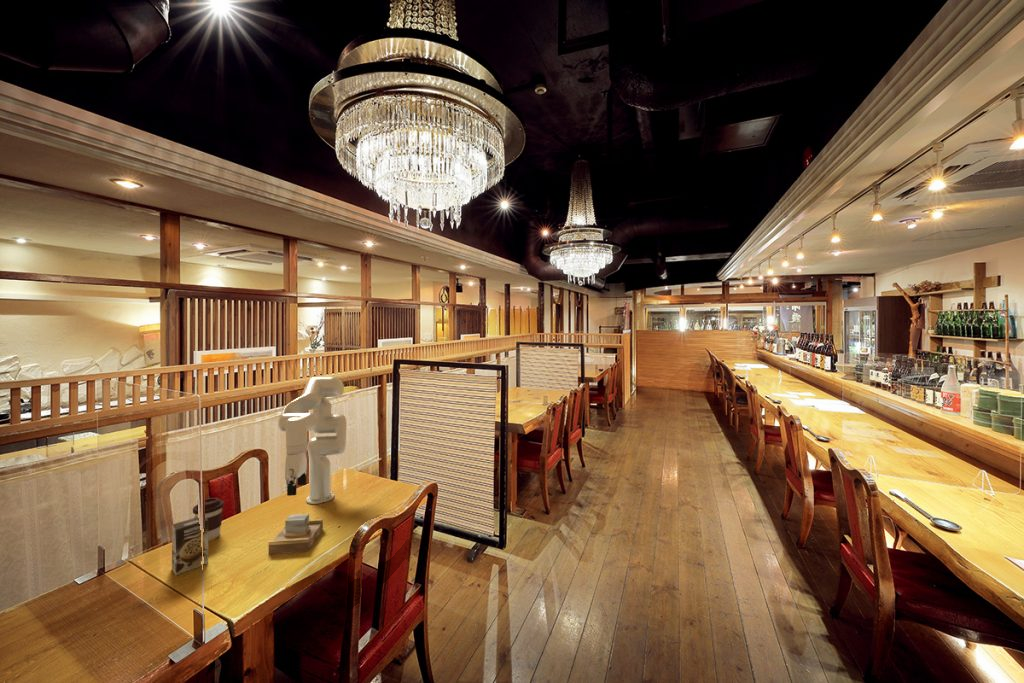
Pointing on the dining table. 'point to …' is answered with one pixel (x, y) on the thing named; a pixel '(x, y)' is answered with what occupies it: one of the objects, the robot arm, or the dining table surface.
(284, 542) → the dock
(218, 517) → the coffee cup
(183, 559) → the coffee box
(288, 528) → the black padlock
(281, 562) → the dining table surface
